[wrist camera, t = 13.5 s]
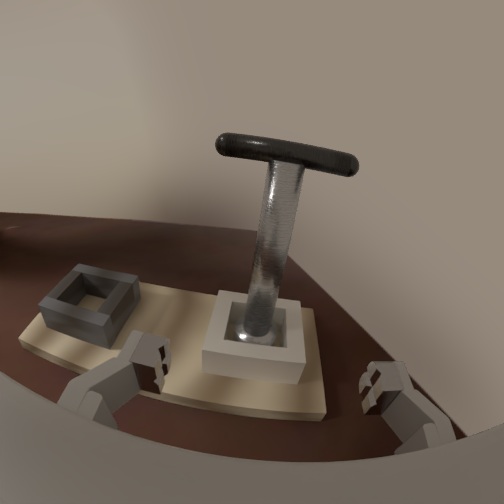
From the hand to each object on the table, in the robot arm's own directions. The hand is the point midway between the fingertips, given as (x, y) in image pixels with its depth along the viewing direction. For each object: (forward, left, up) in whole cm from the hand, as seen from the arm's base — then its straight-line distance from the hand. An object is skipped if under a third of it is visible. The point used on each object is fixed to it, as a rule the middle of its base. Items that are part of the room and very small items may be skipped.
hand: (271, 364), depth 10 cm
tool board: (-14, -2, -13) cm, 19 cm away
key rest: (-10, +5, -11) cm, 16 cm away
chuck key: (-10, +5, -11) cm, 16 cm away
